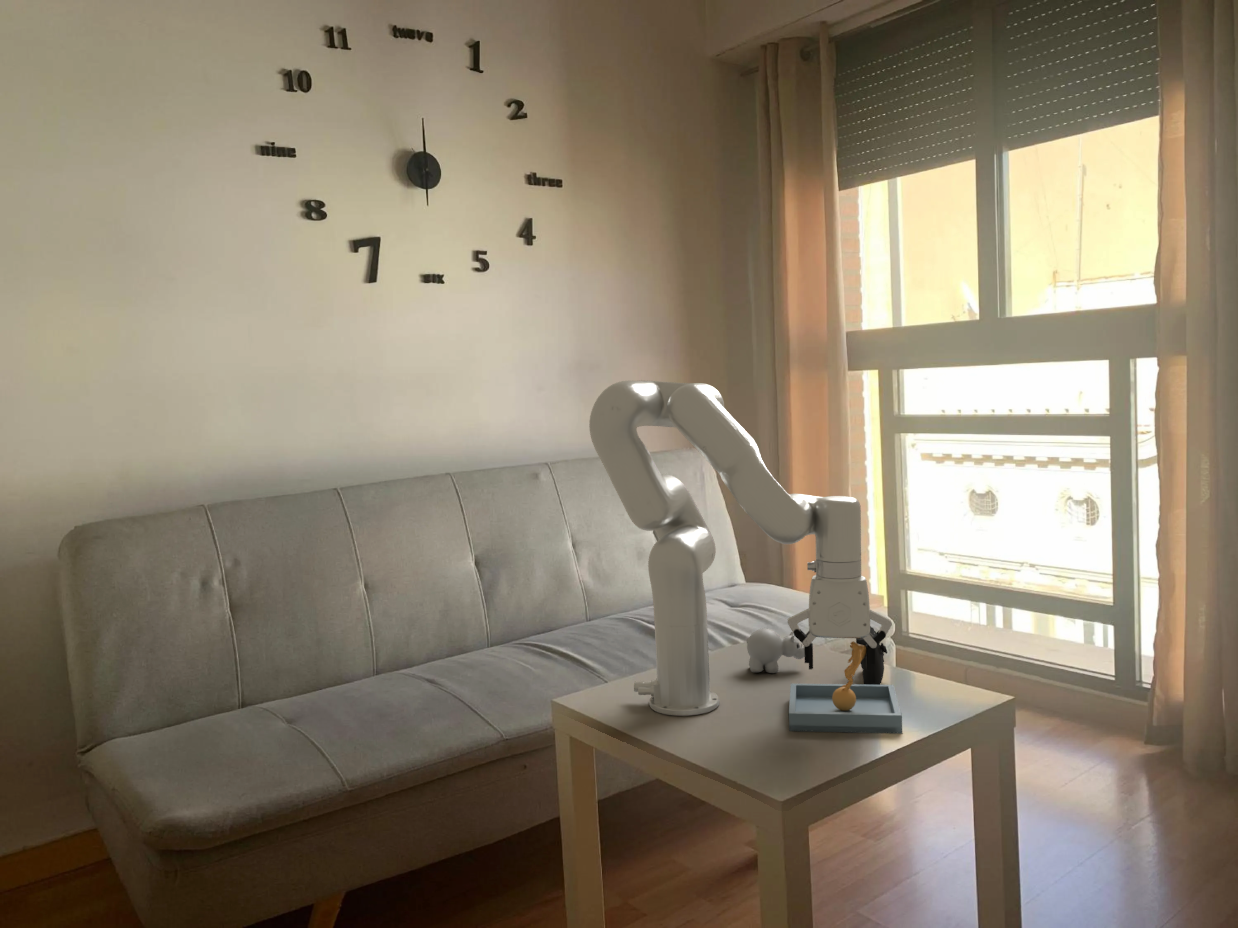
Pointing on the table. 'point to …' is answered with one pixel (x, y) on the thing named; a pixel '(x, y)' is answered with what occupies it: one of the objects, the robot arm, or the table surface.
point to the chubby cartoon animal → (771, 649)
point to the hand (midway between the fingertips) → (839, 667)
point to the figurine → (844, 695)
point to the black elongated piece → (878, 669)
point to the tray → (867, 716)
